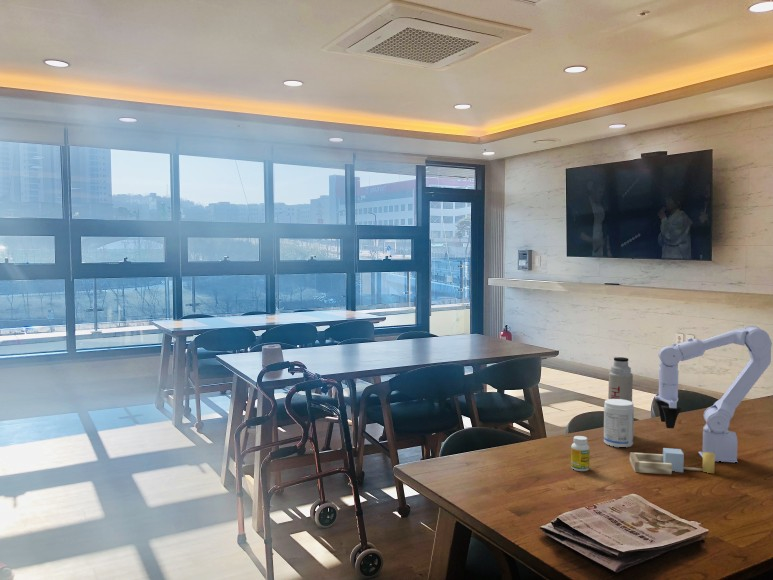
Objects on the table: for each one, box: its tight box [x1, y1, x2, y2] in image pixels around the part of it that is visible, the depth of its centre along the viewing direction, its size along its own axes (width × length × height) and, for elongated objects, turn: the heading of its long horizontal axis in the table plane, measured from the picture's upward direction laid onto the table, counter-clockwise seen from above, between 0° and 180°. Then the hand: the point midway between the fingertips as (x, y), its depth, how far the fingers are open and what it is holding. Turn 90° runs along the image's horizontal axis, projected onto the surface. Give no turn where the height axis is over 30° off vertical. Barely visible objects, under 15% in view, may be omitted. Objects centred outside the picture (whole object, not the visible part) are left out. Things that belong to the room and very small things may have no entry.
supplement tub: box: [603, 399, 635, 448], centre depth 214 cm, size 10×10×15 cm
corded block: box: [662, 447, 716, 474], centre depth 189 cm, size 14×5×6 cm, turn 74°
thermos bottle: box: [607, 356, 634, 402], centre depth 224 cm, size 8×8×28 cm
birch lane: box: [629, 452, 673, 475], centre depth 191 cm, size 10×9×3 cm
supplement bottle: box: [570, 435, 591, 472], centre depth 190 cm, size 5×5×10 cm
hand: (667, 424), depth 205 cm, fingers open, 7 cm apart
